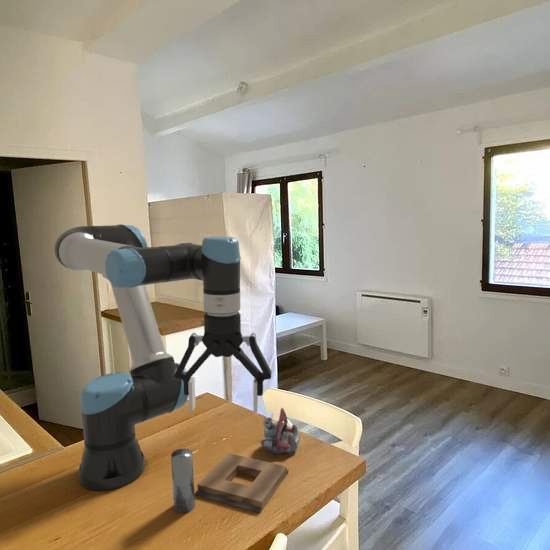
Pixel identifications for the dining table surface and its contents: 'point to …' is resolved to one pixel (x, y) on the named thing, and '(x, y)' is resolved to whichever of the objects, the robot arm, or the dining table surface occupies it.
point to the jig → (241, 495)
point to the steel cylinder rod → (183, 480)
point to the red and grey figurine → (280, 435)
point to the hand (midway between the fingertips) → (224, 409)
